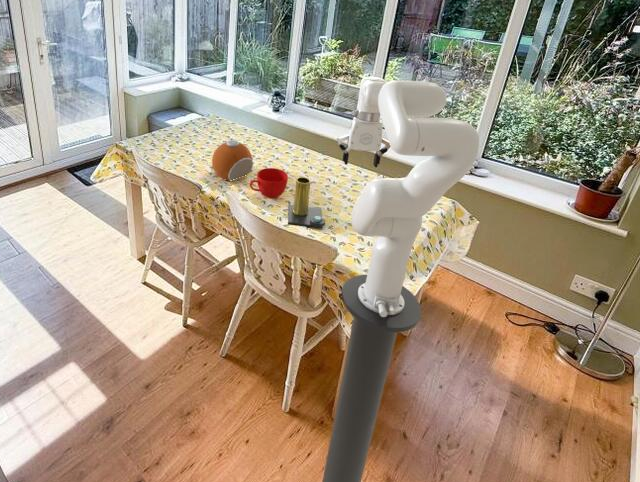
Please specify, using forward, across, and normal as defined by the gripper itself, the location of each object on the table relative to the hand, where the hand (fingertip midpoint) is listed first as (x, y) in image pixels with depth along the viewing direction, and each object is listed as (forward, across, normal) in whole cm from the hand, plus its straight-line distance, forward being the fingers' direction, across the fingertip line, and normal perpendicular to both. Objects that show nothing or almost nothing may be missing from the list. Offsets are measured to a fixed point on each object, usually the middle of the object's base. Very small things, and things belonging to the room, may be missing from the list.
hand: (360, 164), depth 138 cm
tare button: (+27, -11, +7) cm, 30 cm away
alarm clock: (+29, -48, +43) cm, 71 cm away
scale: (+29, -15, +13) cm, 35 cm away
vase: (+28, -17, +15) cm, 36 cm away
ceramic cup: (+29, -31, +27) cm, 50 cm away
